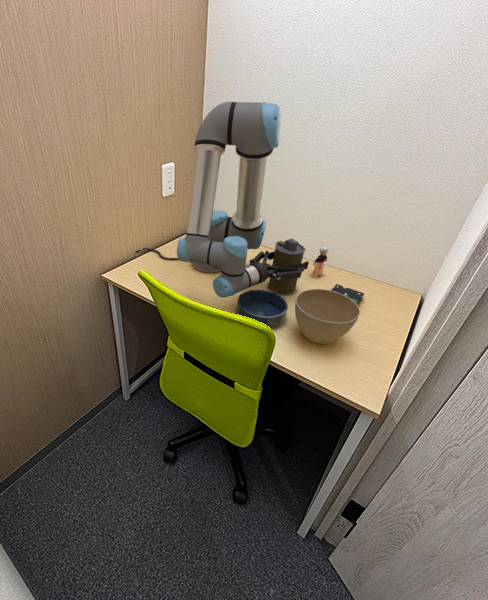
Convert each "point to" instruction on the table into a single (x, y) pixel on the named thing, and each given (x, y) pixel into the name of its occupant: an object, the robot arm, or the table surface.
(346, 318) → the tan rounded vessel
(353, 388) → the table surface
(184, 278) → the table surface
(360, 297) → the disk drive
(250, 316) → the bowl
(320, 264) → the grandmother figurine
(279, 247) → the canister
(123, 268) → the table surface
